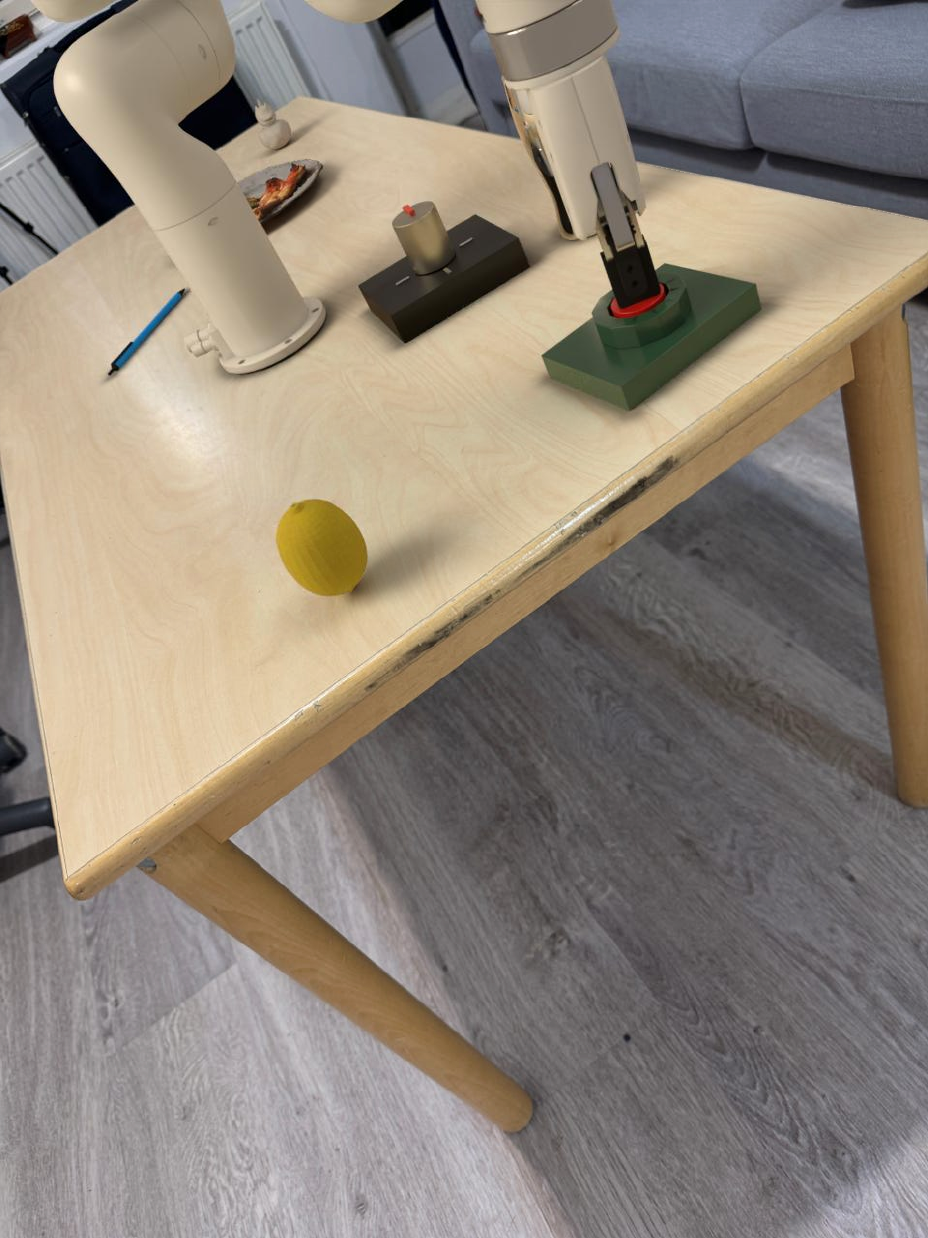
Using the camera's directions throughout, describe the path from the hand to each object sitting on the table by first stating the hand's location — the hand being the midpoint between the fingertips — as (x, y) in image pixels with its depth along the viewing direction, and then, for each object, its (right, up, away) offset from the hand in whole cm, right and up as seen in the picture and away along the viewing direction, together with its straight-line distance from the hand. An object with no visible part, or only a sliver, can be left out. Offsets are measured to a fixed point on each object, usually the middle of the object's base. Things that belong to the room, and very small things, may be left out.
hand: (638, 296), depth 72 cm
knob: (-16, +11, +23) cm, 30 cm away
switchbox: (+2, -3, +3) cm, 4 cm away
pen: (-52, +13, +53) cm, 76 cm away
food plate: (-44, +34, +70) cm, 89 cm away
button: (+1, -1, +1) cm, 2 cm away
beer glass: (-1, +14, +22) cm, 26 cm away
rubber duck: (-43, +55, +92) cm, 116 cm away
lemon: (-21, -22, -3) cm, 30 cm away
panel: (-14, +9, +25) cm, 30 cm away
